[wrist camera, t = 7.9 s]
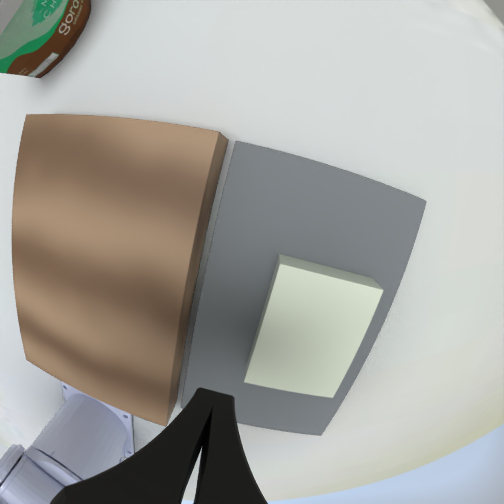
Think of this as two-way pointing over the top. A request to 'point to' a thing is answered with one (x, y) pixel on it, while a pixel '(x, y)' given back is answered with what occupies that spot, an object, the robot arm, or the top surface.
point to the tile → (310, 327)
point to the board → (111, 251)
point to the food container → (39, 33)
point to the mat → (297, 246)
